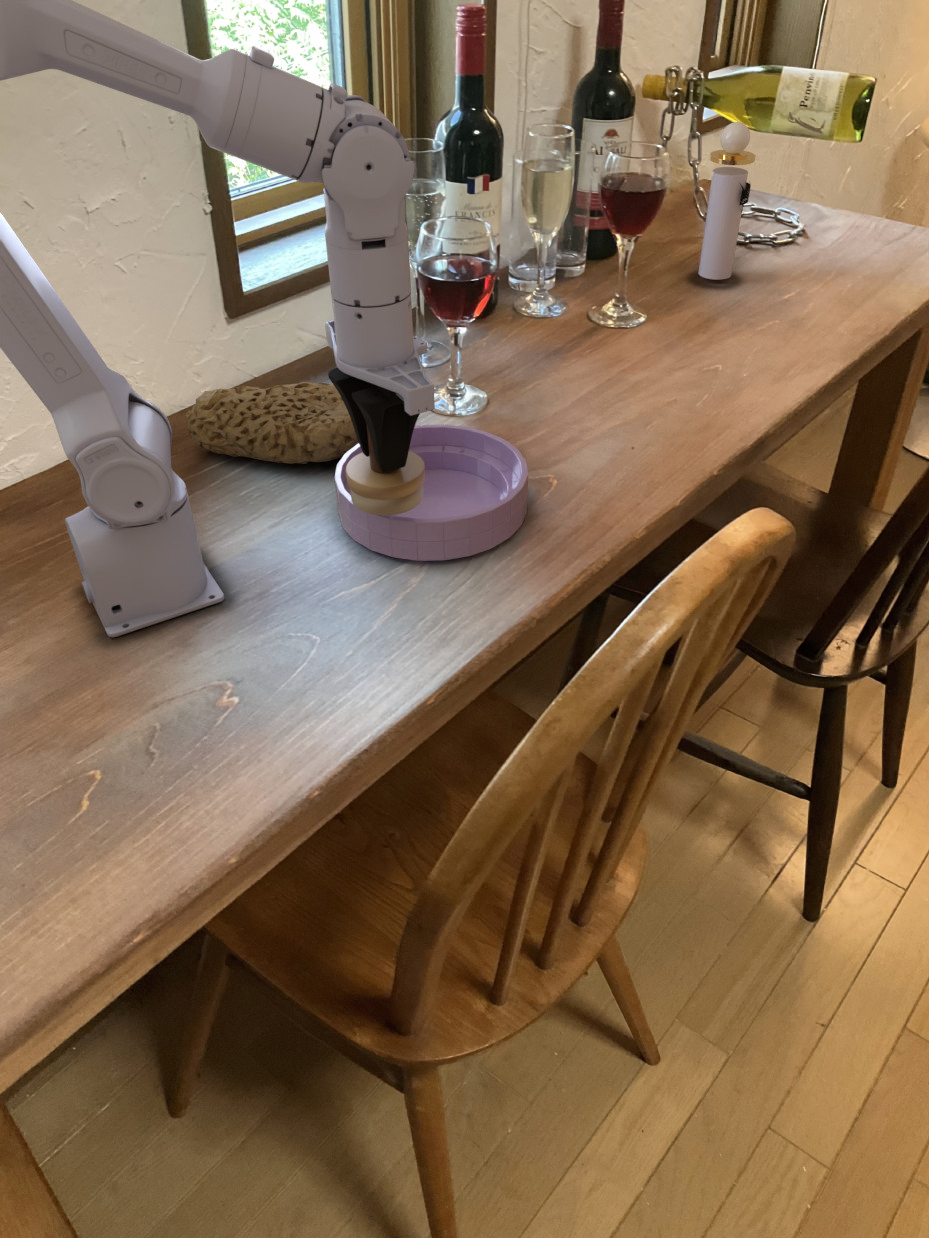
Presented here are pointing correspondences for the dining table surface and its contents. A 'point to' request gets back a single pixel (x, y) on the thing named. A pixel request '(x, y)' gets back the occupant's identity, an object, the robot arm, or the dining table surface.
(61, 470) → the dining table surface
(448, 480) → the bowl
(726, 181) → the white cylinder with ball
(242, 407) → the sponge
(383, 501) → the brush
